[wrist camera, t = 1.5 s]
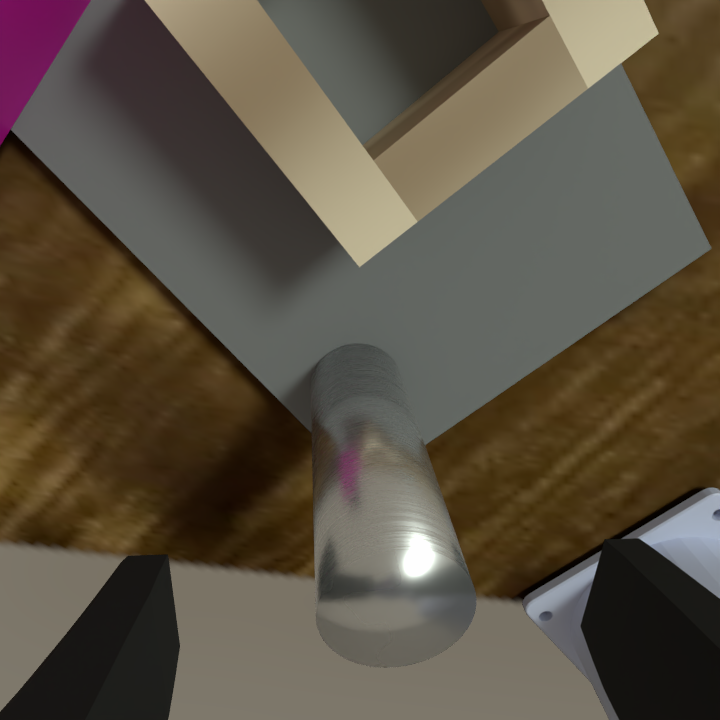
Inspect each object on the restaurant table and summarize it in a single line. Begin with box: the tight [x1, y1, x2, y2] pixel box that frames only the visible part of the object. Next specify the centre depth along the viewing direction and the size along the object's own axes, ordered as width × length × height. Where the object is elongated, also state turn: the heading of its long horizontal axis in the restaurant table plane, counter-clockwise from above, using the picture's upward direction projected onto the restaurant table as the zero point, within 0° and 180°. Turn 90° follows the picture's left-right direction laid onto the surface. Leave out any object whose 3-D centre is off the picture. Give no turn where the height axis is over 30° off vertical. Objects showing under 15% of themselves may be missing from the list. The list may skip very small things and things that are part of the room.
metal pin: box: [311, 343, 476, 668], centre depth 13 cm, size 3×3×8 cm
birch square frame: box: [145, 0, 659, 267], centre depth 11 cm, size 7×7×3 cm
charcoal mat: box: [11, 0, 711, 445], centre depth 14 cm, size 14×12×1 cm
